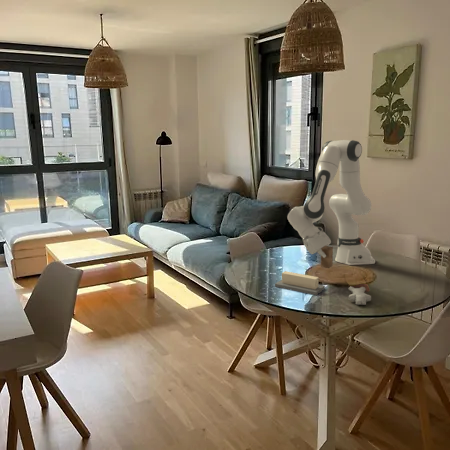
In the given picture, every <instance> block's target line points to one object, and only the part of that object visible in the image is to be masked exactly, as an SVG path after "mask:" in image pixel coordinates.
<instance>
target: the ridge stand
mask: <svg viewBox="0 0 450 450" xmlns="http://www.w3.org/2000/svg"><path fill="white" fill-rule="evenodd" d="M274 287H276V288H281V289H285V290H290V291H294V292H297V293H298V292H299V293H303V294H308V295H314V296H317V295H319V294H320V293H321V292H323V291H324V290H325V288H326V286H325V285H322V284H319V276H313V275H307V274H302V273H298V272H292V271H288V270H287V271H286V270H285V271H283V272H281V280H279V281H277V282H275V283H274ZM323 289H324V290H323ZM322 290H323V291H322ZM318 293H319V294H318Z"/></svg>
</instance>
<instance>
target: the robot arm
mask: <svg viewBox="0 0 450 450" xmlns="http://www.w3.org/2000/svg"><path fill="white" fill-rule="evenodd" d="M362 154H363V147H362V144H361V143H360V141H358V140H354V139H352V140H350V139H340V140H339V139H338V140H328V141H326V142H324V144H323V145H322V146H321V153H320V155H319V157H318V160H317V164H316V166H315V167H316V168H315V172H314V173H315V174H314V175H315V181H314V182H315V183H314V186H313V189H312V193H311V195H310V197H309V198H308V199H307V200H306V201H305V203H304V204H303V205H301V206H294V207H292V208H291V209H290V210H289V211H288V213H287V216H286V217H287V220H288V222H289V224H290V225H291V226H292V227H293V229H294V230H295V231H297V233H298V235H299V236H300V237H301V239H302V242H303V246H304V247H305V248H306V250H307V252H308V253H309V254H310V255H314V254H316V253H318V255H320V257H321V256H323V258H325V257H326V256H327V254H326V253H324V252H323V251H322V250H321V248H323V247H324V246H329V245H330V244H331V243H332V241H331V238H330V237H329V236H328V235H327V233H326V232H325V231H324V229H323V228H322V227H321V226H316V225H314V223H316V222H318V221H320V220H321V219H322V217H323V216H324V213H325V202H324V199H325V195H326V191H327V188H328V186H329V184H330V183H331V182H333V180H334V178H336V175H337V172H338V170H339V186H340V187H341V188H342V189H344V191H345V192H346V193H335V194H333V195H332V196H330V198H329V200H328V201H329V202H328V206H329V208H330V210H332V212H333V213H334V214H335V217H336V219H337V222H338V223H337V224H338V235H337V244H336V245H337V250H336V255H335V258H334V260H335V261H336V262H338V263H341V264H345V265H349V266H357V265H359V266H360V265H374V264H375V263H376V260H375V258H374V257H373V256H372V252H371V251H370V249H369V248H368V247H366V246H365V245H364V239H363V238H361V237H359V223H358V222H357V220H355V219H354V217H353V215H355V216H364V215H365V216H366V215H368V214H369V213H370V211H371V209H372V202H371V200H370V199H369V197H368V196H366V195H365V193H364V191H363V189H362V185H361V171H360V170H361V169H360V168H361V167H360V158H361V156H362Z"/></svg>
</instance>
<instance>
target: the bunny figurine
mask: <svg viewBox="0 0 450 450" xmlns="http://www.w3.org/2000/svg"><path fill="white" fill-rule="evenodd" d="M347 290H348V291H350V292H351V293H352V294H349V295H348V300H349V301H352V302H354V303H355V305H362V306H363V305H364V306H365V305H367V302H371V301H372V295H370V294H367V293H366V292H364V291H366V289H365V287H360V288H354V287H351V286H350V287H349V286H348V289H347Z"/></svg>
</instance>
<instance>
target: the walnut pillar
mask: <svg viewBox="0 0 450 450" xmlns="http://www.w3.org/2000/svg"><path fill="white" fill-rule="evenodd" d="M321 250H322V251H323V252H324V253H326V254H327V256H326V257H325V258H323V256H321V255H320V267H321V268H325V269H330V268H332V267H333V264H334V263H333V259H334V258H333V257H334V256H333V255H334V254H333V253H334V247H333V246H329V245H328V246H324V247H323V248H321Z"/></svg>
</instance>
